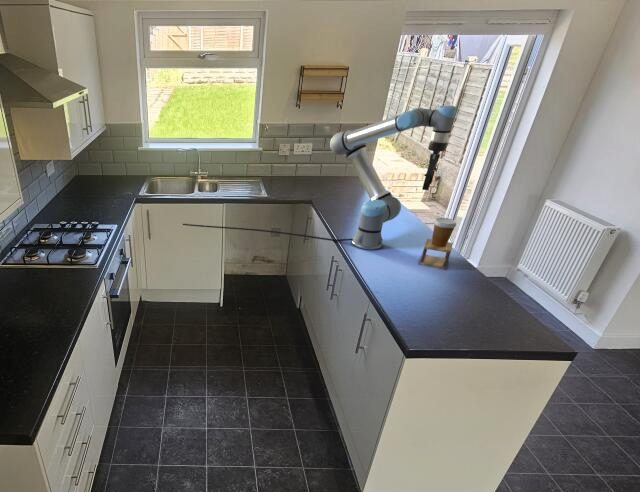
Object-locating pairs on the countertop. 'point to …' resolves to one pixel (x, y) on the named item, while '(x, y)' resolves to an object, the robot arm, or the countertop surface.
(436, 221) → the disposable coffee cup
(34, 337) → the countertop surface
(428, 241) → the oak rack
